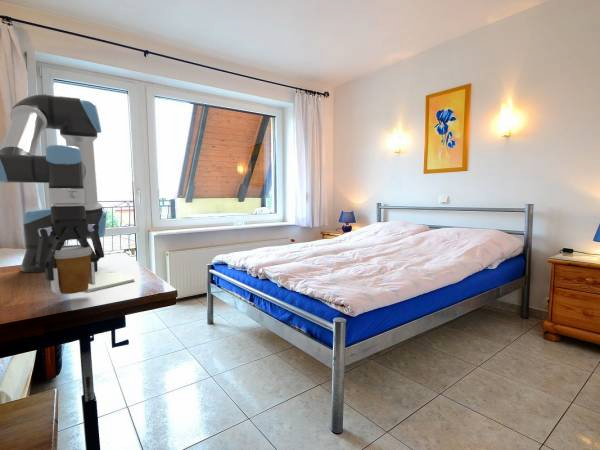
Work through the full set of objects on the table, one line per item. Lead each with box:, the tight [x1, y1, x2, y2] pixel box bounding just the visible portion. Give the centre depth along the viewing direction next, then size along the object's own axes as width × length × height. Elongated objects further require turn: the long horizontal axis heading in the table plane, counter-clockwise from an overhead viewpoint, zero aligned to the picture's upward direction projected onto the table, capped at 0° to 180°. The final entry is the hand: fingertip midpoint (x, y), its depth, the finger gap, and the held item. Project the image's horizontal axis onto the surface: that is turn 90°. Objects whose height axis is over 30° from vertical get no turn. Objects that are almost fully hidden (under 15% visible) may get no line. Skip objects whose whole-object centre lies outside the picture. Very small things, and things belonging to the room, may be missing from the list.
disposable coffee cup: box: [52, 244, 94, 295], centre depth 87 cm, size 10×10×12 cm
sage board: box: [84, 272, 135, 293], centre depth 104 cm, size 16×14×1 cm
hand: (74, 287), depth 87 cm, fingers closed on disposable coffee cup, 8 cm apart
